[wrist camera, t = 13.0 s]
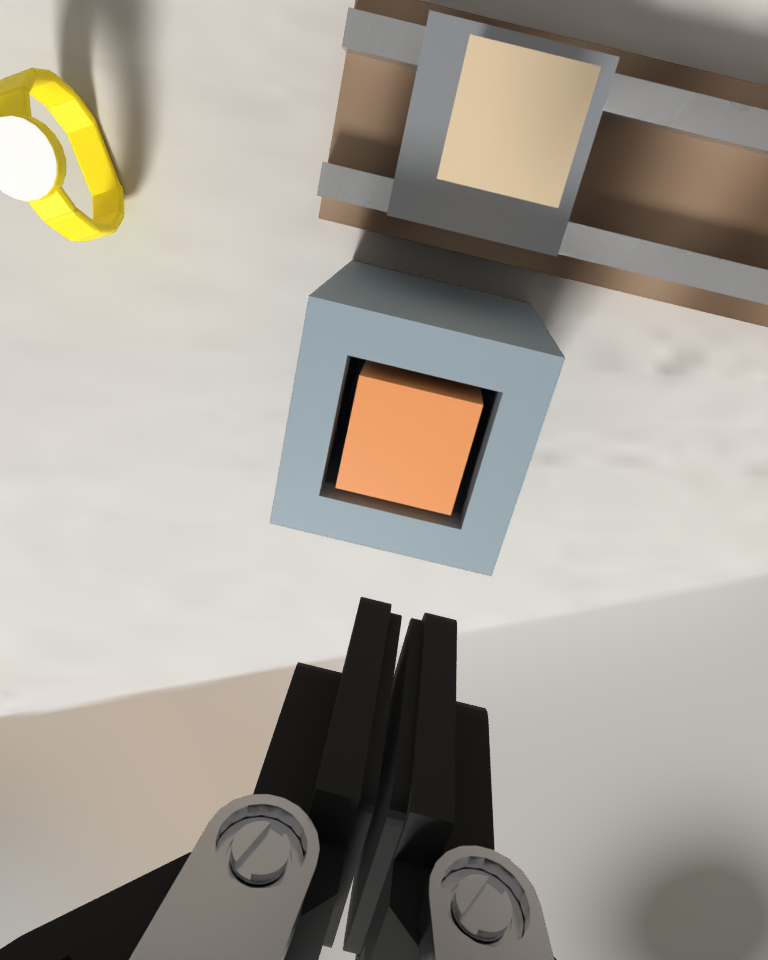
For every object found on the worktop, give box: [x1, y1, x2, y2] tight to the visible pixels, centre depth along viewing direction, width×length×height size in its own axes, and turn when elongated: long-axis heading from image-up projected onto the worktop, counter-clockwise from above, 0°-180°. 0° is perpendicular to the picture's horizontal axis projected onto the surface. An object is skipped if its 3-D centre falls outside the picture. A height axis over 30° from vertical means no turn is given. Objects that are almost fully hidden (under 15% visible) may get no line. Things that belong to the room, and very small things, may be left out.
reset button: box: [335, 360, 483, 515], centre depth 24 cm, size 4×4×3 cm
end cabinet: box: [270, 260, 565, 576], centre depth 27 cm, size 8×8×10 cm
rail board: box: [317, 0, 768, 327], centre depth 27 cm, size 23×8×3 cm, turn 78°
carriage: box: [387, 10, 620, 257], centre depth 20 cm, size 6×6×10 cm
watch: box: [0, 68, 124, 241], centre depth 27 cm, size 6×3×6 cm, turn 15°
